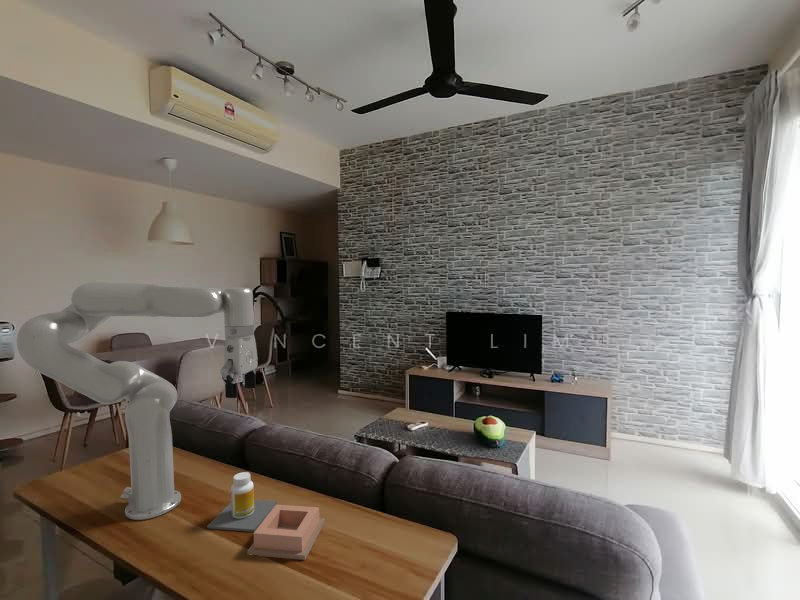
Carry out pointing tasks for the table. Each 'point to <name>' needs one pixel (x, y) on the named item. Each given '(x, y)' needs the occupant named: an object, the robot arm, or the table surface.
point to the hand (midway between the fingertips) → (241, 392)
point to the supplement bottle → (242, 496)
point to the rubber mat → (243, 524)
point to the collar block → (287, 532)
